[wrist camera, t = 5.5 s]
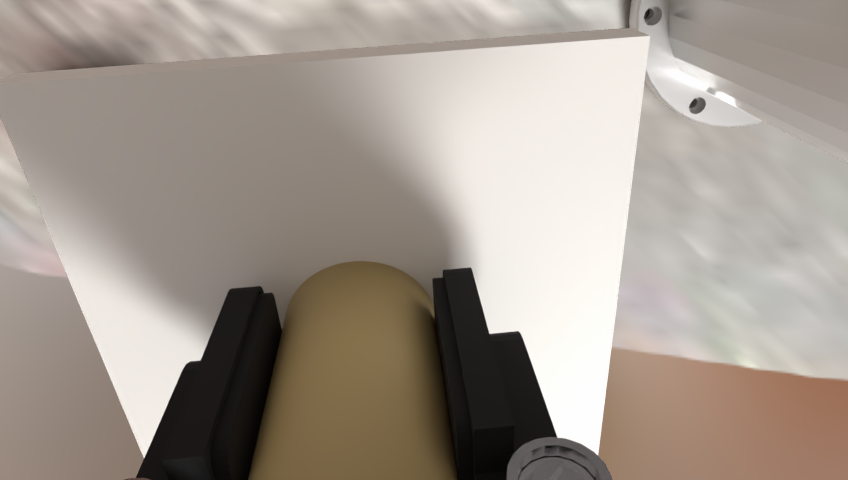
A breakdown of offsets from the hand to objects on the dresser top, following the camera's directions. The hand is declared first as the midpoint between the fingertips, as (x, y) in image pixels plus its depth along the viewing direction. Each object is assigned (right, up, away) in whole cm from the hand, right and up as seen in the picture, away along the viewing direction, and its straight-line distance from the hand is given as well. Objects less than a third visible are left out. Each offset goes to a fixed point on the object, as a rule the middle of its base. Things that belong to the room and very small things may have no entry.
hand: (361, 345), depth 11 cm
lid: (0, +1, +1) cm, 1 cm away
